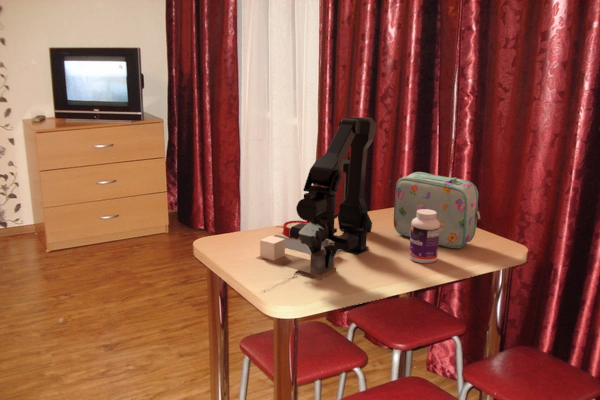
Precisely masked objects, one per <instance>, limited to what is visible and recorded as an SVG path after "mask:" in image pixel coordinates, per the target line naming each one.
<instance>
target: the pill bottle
mask: <svg viewBox="0 0 600 400" xmlns="http://www.w3.org/2000/svg"><path fill="white" fill-rule="evenodd" d="M436 215H437V212H436V211H434V210H429V209H420V210H417V217H416V218H414V219H413V220H412V223H411V236H410V237H409V238H410V239H409V250H408V251H409V252H408V253H409V254H408V257H409V258H410V259H411V260H412V261H414V262H416V263H420V264H430V263H433V262H435V261H437V259H438V255H439V245H438V243H439V231H440V223H439V221H438V220H437V219H435V218H436Z"/></svg>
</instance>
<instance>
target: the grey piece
mask: <svg viewBox="0 0 600 400" xmlns="http://www.w3.org/2000/svg"><path fill="white" fill-rule="evenodd" d="M273 236H275V237H279V238H283V239H285V249H288V250H291V251H296V252H299V253H304V254H308V255H311V251H310V249H309V247H308V246H307V245H306V244H302V243H301V240H299V239H295V238H290V237H286V236H284V235H280V234H274V235H273ZM328 238H329V237H328ZM328 243H329V241H326V240H325V241H324V242H322V245H321V249H324V247H325V246H327V245H328Z"/></svg>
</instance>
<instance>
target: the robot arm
mask: <svg viewBox="0 0 600 400" xmlns="http://www.w3.org/2000/svg"><path fill="white" fill-rule="evenodd" d="M377 125H378V124H377V122H375V120H374V118H373V117H364V116H363V117H362V116H351V117H350V118H342V119H340V121H339V123H338V129H337V130H336V132H335V134H334V136H333V138H332V140H331V142H330V144H329V146H328V147H327V150H326V151H325V153H324V154H323V155H322V156H320V157H318V158H317V159H316V160H315V162H314V163H313V164H312V166H311V167H310V169H309V171H308V175H307V176H306V177H307V178H306V180H305V183H304V185H303V186H304V187H303V191H304V192H305V193H304V194H303V198H301V199H300V200H299V201H298V202H297V205H296V208H295V209H296V213H297V215H298V216H299V218H300V219H301V220H302V221H305V222H306V221H309V223H308V224H304V223H300V224H297V225H295V226H292V227H291V228H290V230H289V237H288V238H290V237H291V238H292V239H296V240H299V239H300V241H301V243H302V244H306V245H307V246H308V247H309V249H310V251H311V254H313V253H315V252H317V251H319V250H321V245H322V242H324V241H325V240H326V241H329V243H328V245H327V246H325V247H324V248H325V250H326V268H329V267H330V265H331V263H332V261H333V259H334V260H335V257H336V254H337V253H338V251H343V252H349V253H352V254H355V255H356V254H357V255H359V254H361V253H363V252H365V251H367V250H369V249H370V248H369V246H367V240H368V239H367V237H368V236H367V235H368V234H370V233H372V228H373V222H372V220H371V218H370V216H369V214H368V212H369V210H368V209H369V208H368V205H367V203H366V201H365V198H364V191H365V179H366V169H367V168H366V167H367V159H368V157H367V156H368V148H369V147H370V146H371V144H372V143H373V142H374V140H375V135H376V134H377V130H378V126H377ZM349 148H350V153H349V157H350V165H349V177H348V189H347V198H346V199H345V200H344V199H343V201H342V203H340V204H339V211H338V213H336V192H338V190H339V189H338V186H339V184H340V182H341V179H342V174H343V173H342V172H343V170H342V161H343V160H345V157H346V155H347V153H348V152H349V151H348V150H349ZM336 219H337V220H338V221H337V222H338V228H339V230H340V231H343V232H342V234H340V235H335V234H336V233H337V230H338V228H336V227H335V220H336ZM328 237H329V238H328ZM311 254H310V255H311Z"/></svg>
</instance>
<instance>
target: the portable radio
mask: <svg viewBox="0 0 600 400" xmlns="http://www.w3.org/2000/svg"><path fill="white" fill-rule="evenodd" d="M347 153H348V154H347V159H345V158H344V159H343V161H342V163H341V170H342V172H343V173H344V187H343V188H344V189H343V191H344V192H343V201H344V200H345V199H346V198H347V189H348V177H349V165H350V153H351V151H347Z"/></svg>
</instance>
